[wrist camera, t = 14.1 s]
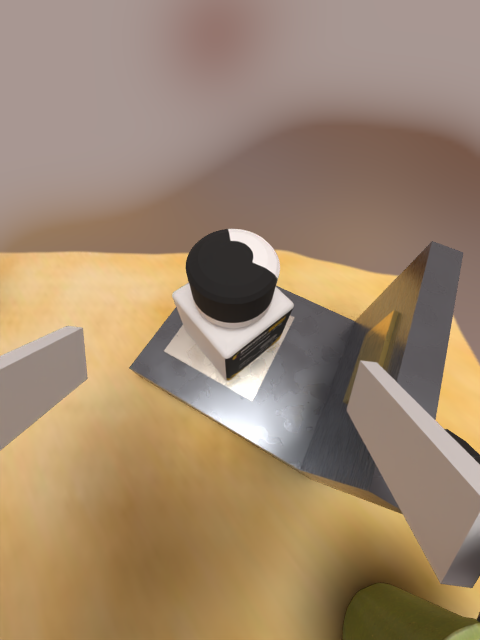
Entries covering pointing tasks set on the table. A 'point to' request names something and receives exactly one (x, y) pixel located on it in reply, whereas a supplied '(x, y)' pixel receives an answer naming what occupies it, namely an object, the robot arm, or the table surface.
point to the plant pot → (402, 617)
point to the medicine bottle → (232, 299)
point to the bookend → (321, 374)
